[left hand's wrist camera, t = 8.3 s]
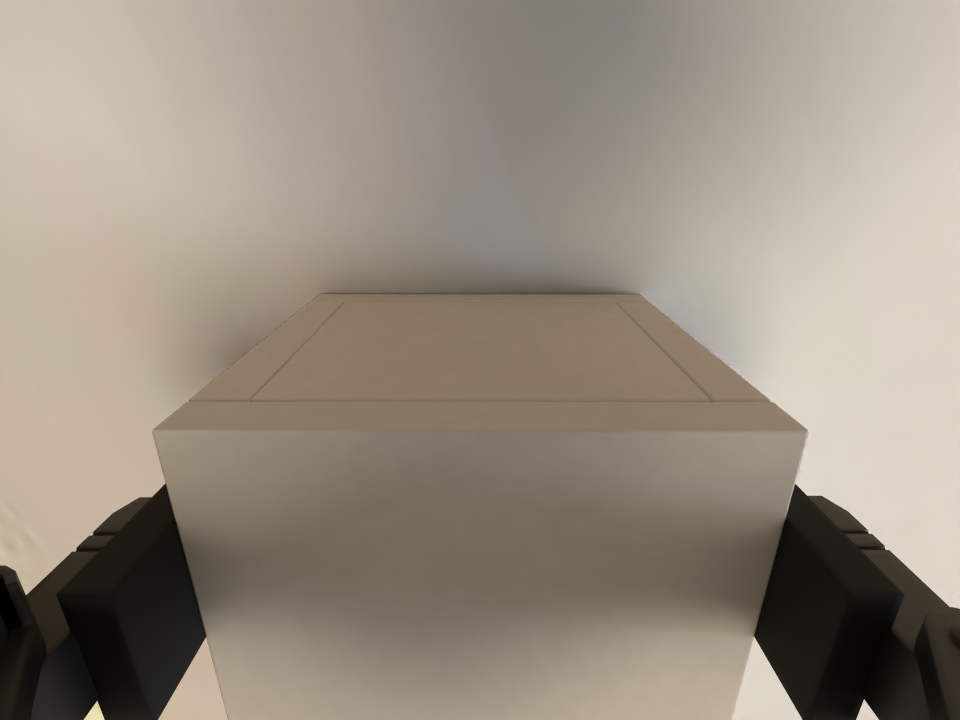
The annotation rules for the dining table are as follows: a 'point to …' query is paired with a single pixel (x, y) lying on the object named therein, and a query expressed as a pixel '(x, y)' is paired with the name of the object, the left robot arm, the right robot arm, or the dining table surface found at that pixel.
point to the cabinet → (480, 512)
